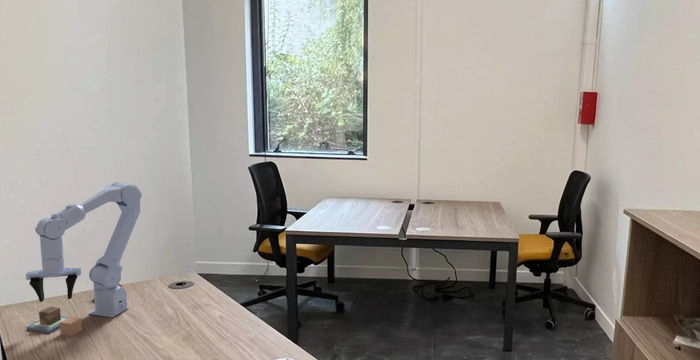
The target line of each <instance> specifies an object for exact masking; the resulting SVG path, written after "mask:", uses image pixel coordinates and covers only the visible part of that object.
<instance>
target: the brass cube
mask: <svg viewBox="0 0 700 360" xmlns="http://www.w3.org/2000/svg"><path fill="white" fill-rule="evenodd" d="M38 316H39V317H38V318H39V320H40V324H46V325H52V324H54V323H56V322H58V321H60V320H61V316H62V315H61V307H56V306H48V307H45V308H44V309H41V310H39V311H38Z"/></svg>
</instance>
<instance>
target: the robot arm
mask: <svg viewBox="0 0 700 360" xmlns="http://www.w3.org/2000/svg"><path fill="white" fill-rule="evenodd" d="M142 195H143V194H142V192H141V190H140V189H139V187H138V186H136V185H135V184H128V183H123V182H119V181H118V182H117V181H116V182H114V183H112V184H111V185H108V186H105V188H104V189H102V190H100V191H99V192H98V193H96V194H94V195H93V196H91V197H89V198H88V199H87V200H85V201H83V202H82V203H80V204H74V203H73V204H66V205H65V208H64V209H62V210H61V211H58V212H57V213H52V214H51V215H50V217H43V218H41V219H40V220H39V221H38V223H37V224H36V227H34V230H35V232H36V234H37V235H38V236H39V241H40V243H39V244H40V255H41V256H40V257H41V266H42V267H41V268H42V269H39V270H34V271H33V270H32V271H27V272H25V280H26V281H29V285H30V286H31V288H32V289H33V291H34V292H35V294H36V295H37V297H38V300H39V303H40V302H41V303H42V302H43V301H44V300H45V292H44V278H45V279H46V278H60V277H65V283H66V288H67V290H66V291H67V300H71V299H72V297H73V293H74V286H75V283H76V281H77V279H78V277H80V276H81V274H82V269H81V267H65V256H64V247H63V244H64V243H63V236H64V235H65V232H66V231H67V230H68V229H70V228H71V227H73V226H75V225H77V224H78V223H80V222H81V221H83V220H85V218H86V215H87V214H88V213H90V212H92V211H94V210H95V209H98V208H100V207H101V206H103V205H105V204H107V203H116V204H117V205H118V207H119V209H120V211H121V213H120V216H119V218H118V220H117V223H116V225H115V228H114V230H113V233H112V235H111V237H110V240H109V241H108V242H109V243H108V244H107V247H106V249H105V252H104V254H103V256H101V257H100V258H98V259H97V260H96V262H95V265H93V267H91V268H90V270H89V275H88V277H89V280H90V281H91V282H93V294H94V295H93V297H94V298H93V299H94V309H93V310H90V311H89V312H88V314H89V315H95V316H99V317H100V316H102V317H106V318H114V317H115V316H117V315H119V314H121V313H123V312H125V311H126V310H129V306H128V303H127V290H126V289H125V288H124V287H123V286H122V287H123V288H122V287H120V286H119V285H118V284H120V282H121V280H122V272H123V264H122V262H121V259H122V257H123V255H124V253H125V250H126V247H127V246H128V243H129V240H130V238H131V235H132V233H133V231H134V227H135V225H136V223H137V221H138V218H139V215H140V214H141V198H142Z"/></svg>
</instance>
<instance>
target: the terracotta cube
mask: <svg viewBox="0 0 700 360" xmlns="http://www.w3.org/2000/svg"><path fill="white" fill-rule="evenodd" d="M82 324H83V323H82V318H80V317H74V316H69V318H67V319H65V320H63V321H61V322H60V329H59V331H60V335H62V336H66V337H67V336H69V337H72V336H75V335H76V334H78V333H80V332H82V331H83V329H82V328H83V327H82V326H83V325H82Z"/></svg>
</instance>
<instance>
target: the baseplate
mask: <svg viewBox="0 0 700 360" xmlns="http://www.w3.org/2000/svg"><path fill="white" fill-rule="evenodd" d="M69 317H70V316H69ZM69 317H68V316H62V315H61V320H60V321H58V322H56V323H54V324H52V325H46V324H40V319H39V320H37V321H35V322H33V323H31V324H29V325H27V326H26V330H28V331H32V330H34V331H33V332H38V331H40V333H43V334H44V333H45V334H52V333H53V332H56V331H57V330H60V322H61V321H63V320H65V319H67V318H69Z"/></svg>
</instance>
